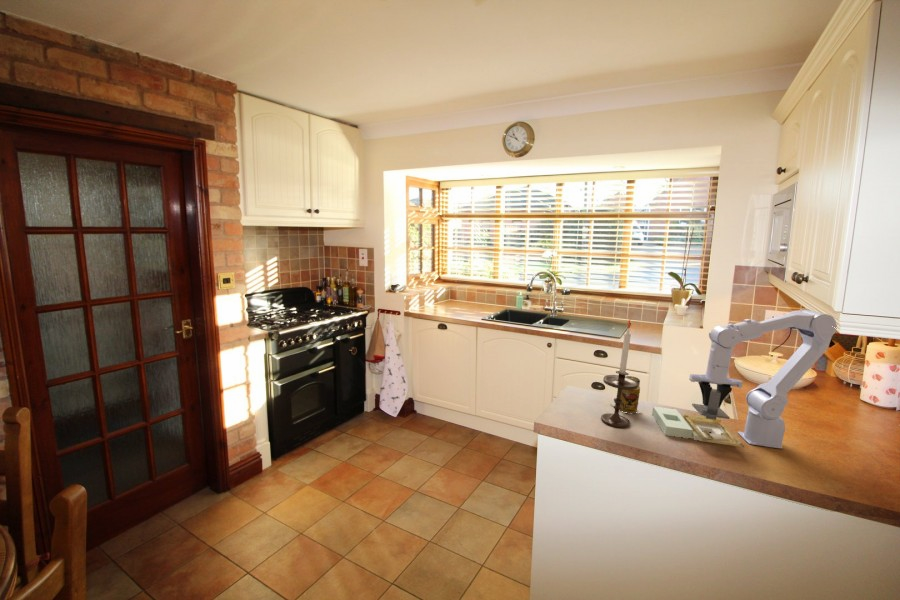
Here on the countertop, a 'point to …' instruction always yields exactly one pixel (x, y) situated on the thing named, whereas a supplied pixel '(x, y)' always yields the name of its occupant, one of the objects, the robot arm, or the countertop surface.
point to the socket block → (714, 430)
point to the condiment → (630, 399)
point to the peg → (712, 407)
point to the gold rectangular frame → (702, 419)
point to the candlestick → (620, 387)
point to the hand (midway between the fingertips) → (711, 405)
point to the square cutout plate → (672, 422)
